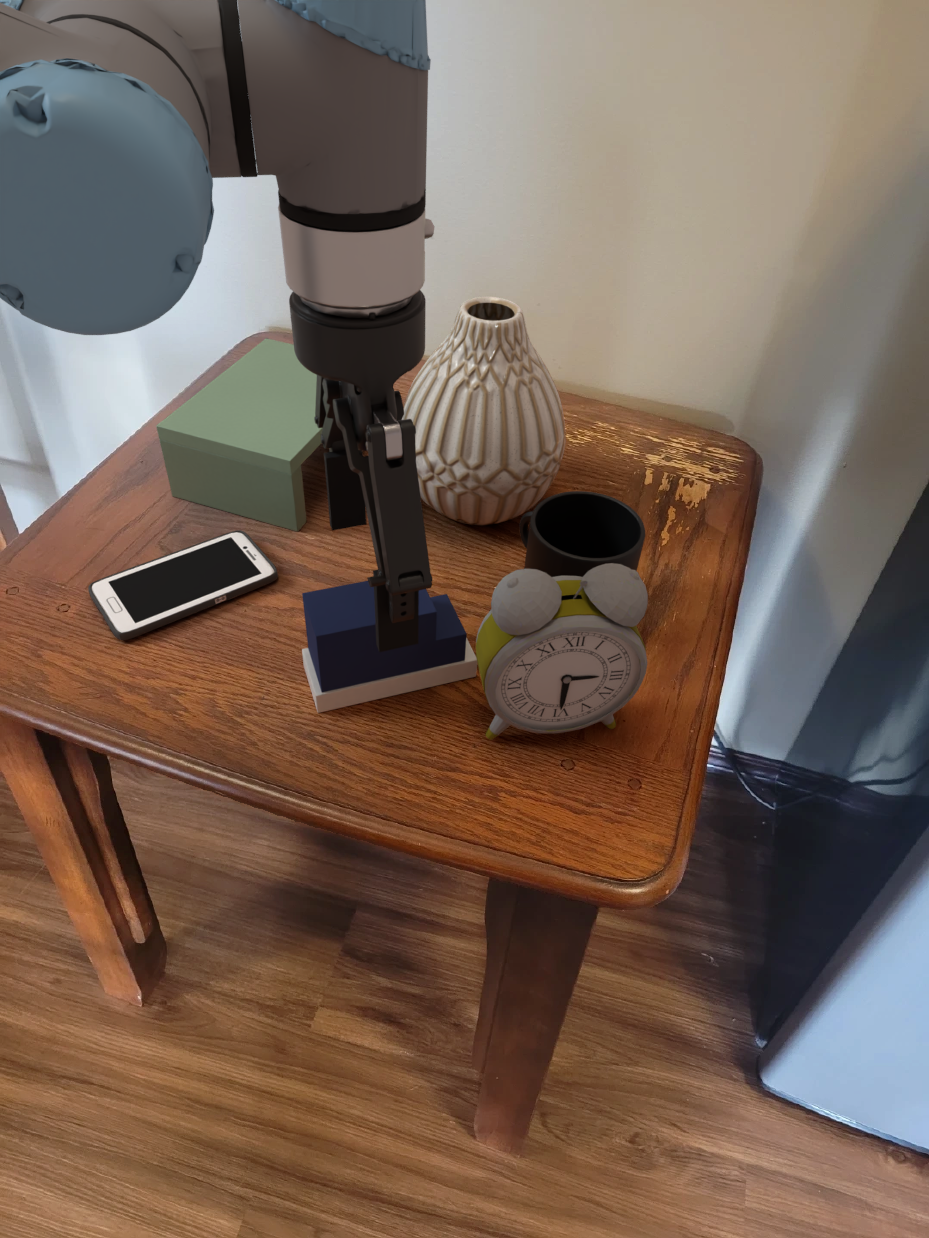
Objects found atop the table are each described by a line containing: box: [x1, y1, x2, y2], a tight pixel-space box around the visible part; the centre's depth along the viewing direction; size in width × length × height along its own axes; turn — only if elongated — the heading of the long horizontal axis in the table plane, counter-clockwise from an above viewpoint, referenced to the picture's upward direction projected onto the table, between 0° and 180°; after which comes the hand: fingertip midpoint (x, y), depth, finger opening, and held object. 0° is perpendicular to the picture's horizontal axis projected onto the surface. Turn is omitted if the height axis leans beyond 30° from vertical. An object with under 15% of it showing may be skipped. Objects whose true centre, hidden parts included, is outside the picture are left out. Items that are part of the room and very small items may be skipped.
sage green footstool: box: [155, 338, 323, 532], centre depth 87 cm, size 14×20×8 cm
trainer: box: [301, 580, 478, 714], centre depth 66 cm, size 13×5×8 cm, turn 110°
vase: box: [402, 295, 567, 526], centre depth 79 cm, size 16×16×20 cm
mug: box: [518, 490, 646, 577], centre depth 73 cm, size 9×12×9 cm
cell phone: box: [87, 529, 279, 641], centre depth 74 cm, size 8×15×1 cm, turn 127°
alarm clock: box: [475, 563, 649, 741], centre depth 61 cm, size 12×7×15 cm, turn 99°
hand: (371, 580), depth 61 cm, fingers open, 13 cm apart
